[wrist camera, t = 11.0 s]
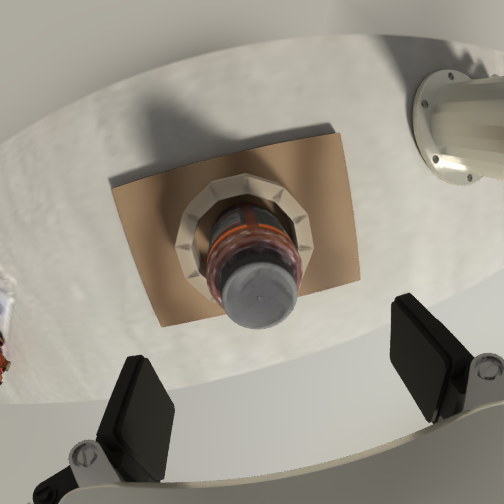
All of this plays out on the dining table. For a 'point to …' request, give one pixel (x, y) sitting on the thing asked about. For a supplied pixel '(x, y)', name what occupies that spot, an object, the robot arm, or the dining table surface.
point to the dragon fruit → (3, 362)
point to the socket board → (230, 193)
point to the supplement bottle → (253, 266)
